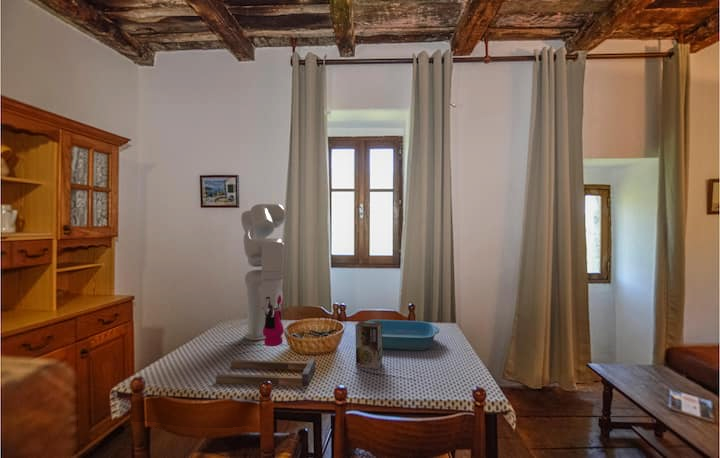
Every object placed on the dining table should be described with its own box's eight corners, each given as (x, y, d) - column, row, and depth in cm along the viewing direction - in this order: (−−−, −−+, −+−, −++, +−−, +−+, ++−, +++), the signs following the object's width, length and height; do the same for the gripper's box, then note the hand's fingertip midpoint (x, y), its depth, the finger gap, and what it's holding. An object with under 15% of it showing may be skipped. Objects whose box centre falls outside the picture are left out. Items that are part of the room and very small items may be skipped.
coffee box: (382, 362, 132) (382, 321, 131) (378, 369, 126) (378, 327, 125) (360, 359, 135) (360, 319, 134) (355, 366, 128) (355, 324, 128)
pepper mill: (278, 347, 117) (277, 290, 116) (259, 346, 118) (258, 289, 117) (287, 340, 124) (286, 286, 123) (269, 338, 125) (268, 285, 124)
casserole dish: (353, 349, 145) (353, 333, 145) (361, 332, 167) (361, 317, 167) (441, 355, 139) (441, 337, 139) (437, 335, 161) (437, 321, 161)
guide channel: (232, 366, 129) (232, 355, 129) (315, 368, 127) (315, 357, 127) (216, 383, 116) (215, 371, 116) (308, 385, 114) (307, 374, 114)
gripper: (270, 270, 129) (271, 317, 129) (252, 279, 111) (253, 333, 112) (289, 271, 128) (290, 318, 129) (275, 279, 111) (275, 334, 112)
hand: (273, 324), depth 121 cm, fingers closed on pepper mill, 5 cm apart
